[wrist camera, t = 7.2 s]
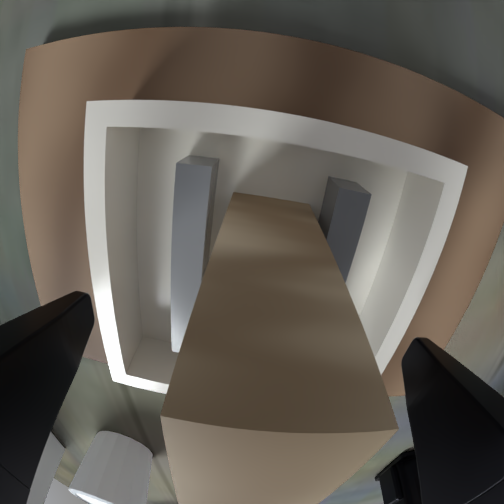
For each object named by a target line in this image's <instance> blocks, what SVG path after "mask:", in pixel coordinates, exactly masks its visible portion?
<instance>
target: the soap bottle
mask: <svg viewBox="0 0 504 504" xmlns="http://www.w3.org/2000/svg"><path fill="white" fill-rule="evenodd" d="M64 451H65V448H64V447H63V446H62V445H61V443H60V442H59V441H58V440H57V438H56V437H55V436H54V435H53V433H52V432H50V435H49V437H48V440H47V443H46V445H45V448H44V451H43V453H42V456H41V459H40V462H39V465H38V468H37V471H36V474H35V477H34V480H33V483H32V486H31V489H30V493H29V497H28V500H27V504H44V502H45V499H46V497H47V494H48V491H49V488H50V485H51V483H52V481H53V478H54V475H55V473H56V470H57V468H58V465H59V463H60V460H61V458H62V456H63V453H64Z"/></svg>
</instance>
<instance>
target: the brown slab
mask: <svg viewBox="0 0 504 504" xmlns="http://www.w3.org/2000/svg"><path fill="white" fill-rule="evenodd" d="M102 100H168V101H187V102H201V103H213V104H223V105H232V106H241V107H249V108H256V109H263V110H269V111H276V112H282V113H287V114H293V115H298V116H303V117H308V118H313V119H318V120H323V121H327V122H332V123H336V124H340V125H344V126H348V127H352V128H356V129H360V130H364V131H367V132H371V133H375V134H378V135H381V136H385V137H388V138H391V139H395V140H398V141H401V142H404V143H407V144H410V145H413V146H416V147H419V148H422V149H425V150H428V151H430V152H433V153H436V154H439V155H441V156H444V157H446V158H449V159H452V160H454V161H457V162H459V163H461V164H464V165H466V166H468V169H467V173H466V177H465V180H464V184H463V188H462V191H461V195H460V198H459V202H458V205H457V208H456V212H455V215H454V218H453V221H452V224H451V227H450V230H449V233H448V236H447V238H446V241H445V244H444V247H443V249H442V252H441V254H440V257H439V260H438V262H437V265H436V267H435V270H434V272H433V274H432V277H431V279H430V281H429V284H428V286H427V288H426V291H425V293H424V295H423V297H422V299H421V302H420V304H419V306H418V308H417V310H416V312H415V314H414V316H413V318H412V320H411V322H410V324H409V326H408V328H407V330H406V332H405V334H404V336H403V338H402V339H401V341H400V343H399V345H398V347H397V349H396V350H395V352H394V354H393V356H392V358H391V359H390V361H389V363H388V364H387V366H386V368H385V370H384V371H383V373H382V374H381V377H382V379H383V382H384V385H385V388H386V391H387V394H388V396H405V389H404V381H403V374H402V367H401V362H402V358H403V356H404V354H405V352H406V351H407V349H408V347H409V345H410V343H411V342H412V340H413V339H414V338H416V337H426V338H428V339H430V340H431V341H432V342H434V343H435V344H436V345H438V346H439V347H440V348H442V349H443V350H444V348H445V347H446V345H447V343H448V342H449V340H450V338H451V337H452V335H453V333H454V331H455V330H456V328H457V326H458V324H459V323H460V321H461V319H462V317H463V315H464V313H465V311H466V310H467V308H468V306H469V304H470V302H471V300H472V298H473V296H474V294H475V292H476V290H477V287H478V285H479V283H480V281H481V279H482V277H483V274H484V272H485V270H486V267H487V265H488V263H489V260H490V258H491V255H492V253H493V250H494V248H495V245H496V243H497V240H498V237H499V234H500V232H501V229H502V226H503V223H504V118H503V117H501V116H500V115H498V114H497V113H495V112H493V111H492V110H490V109H488V108H487V107H485V106H483V105H481V104H480V103H478V102H476V101H474V100H472V99H471V98H469V97H467V96H465V95H463V94H461V93H459V92H457V91H455V90H453V89H451V88H449V87H447V86H445V85H443V84H441V83H439V82H437V81H434V80H432V79H430V78H428V77H425V76H423V75H421V74H418V73H416V72H413V71H411V70H408V69H406V68H403V67H401V66H398V65H395V64H393V63H390V62H387V61H384V60H381V59H378V58H375V57H372V56H369V55H366V54H362V53H359V52H356V51H352V50H349V49H345V48H341V47H338V46H334V45H330V44H325V43H321V42H317V41H312V40H307V39H302V38H297V37H292V36H286V35H280V34H273V33H266V32H259V31H250V30H240V29H228V28H212V27H157V28H140V29H128V30H119V31H110V32H103V33H96V34H90V35H84V36H79V37H74V38H69V39H64V40H59V41H55V42H51V43H47V44H43V45H39V46H36V47H32V48H29V49H26V53H25V59H24V66H23V73H22V81H21V91H20V103H19V121H18V164H19V183H20V195H21V205H22V214H23V222H24V229H25V235H26V241H27V247H28V252H29V258H30V262H31V267H32V272H33V276H34V281H35V285H36V289H37V293H38V296H39V300H40V304H41V306H43V305H45V304H47V303H49V302H52V301H54V300H56V299H58V298H60V297H63V296H65V295H67V294H69V293H71V292H74V291H81V292H86V293H88V294H89V295H90V296H91V300H92V306H93V311H94V317H95V322H94V326H93V329H92V332H91V334H90V337H89V339H88V342H87V345H86V348H85V350H84V353H83V356H82V357H85V358H89V359H92V360H95V361H99V362H102V363H106V364H108V360H107V356H106V352H105V348H104V344H103V339H102V335H101V330H100V325H99V320H98V315H97V309H96V304H95V298H94V292H93V285H92V278H91V271H90V263H89V255H88V245H87V234H86V221H85V204H84V133H85V116H86V103H87V101H102Z"/></svg>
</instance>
